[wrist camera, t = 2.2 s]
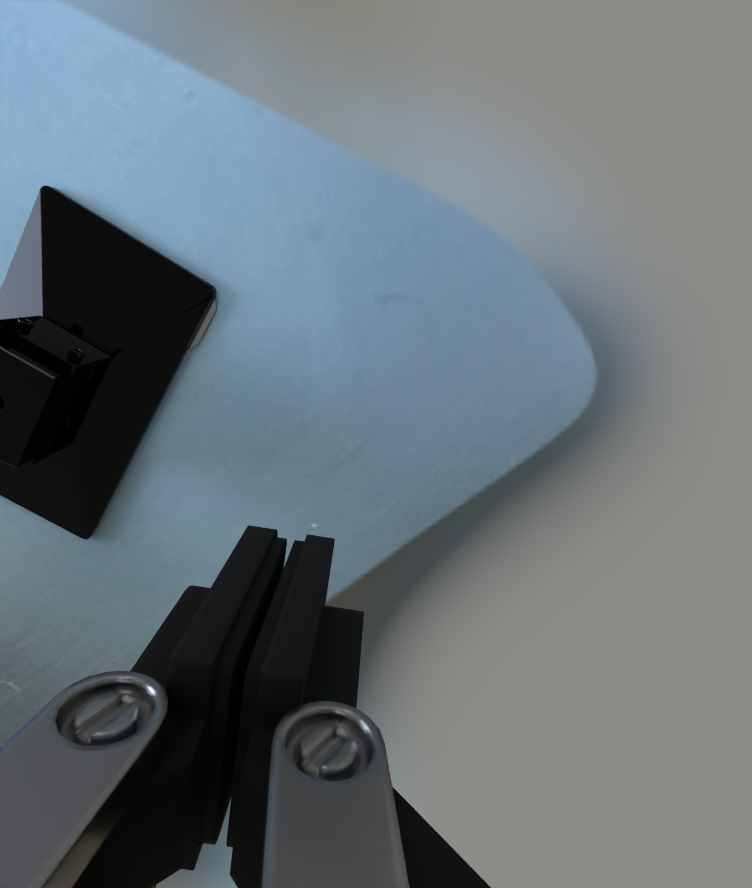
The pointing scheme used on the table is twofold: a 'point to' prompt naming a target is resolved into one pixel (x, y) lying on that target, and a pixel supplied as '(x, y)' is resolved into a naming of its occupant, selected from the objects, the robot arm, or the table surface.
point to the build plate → (86, 357)
